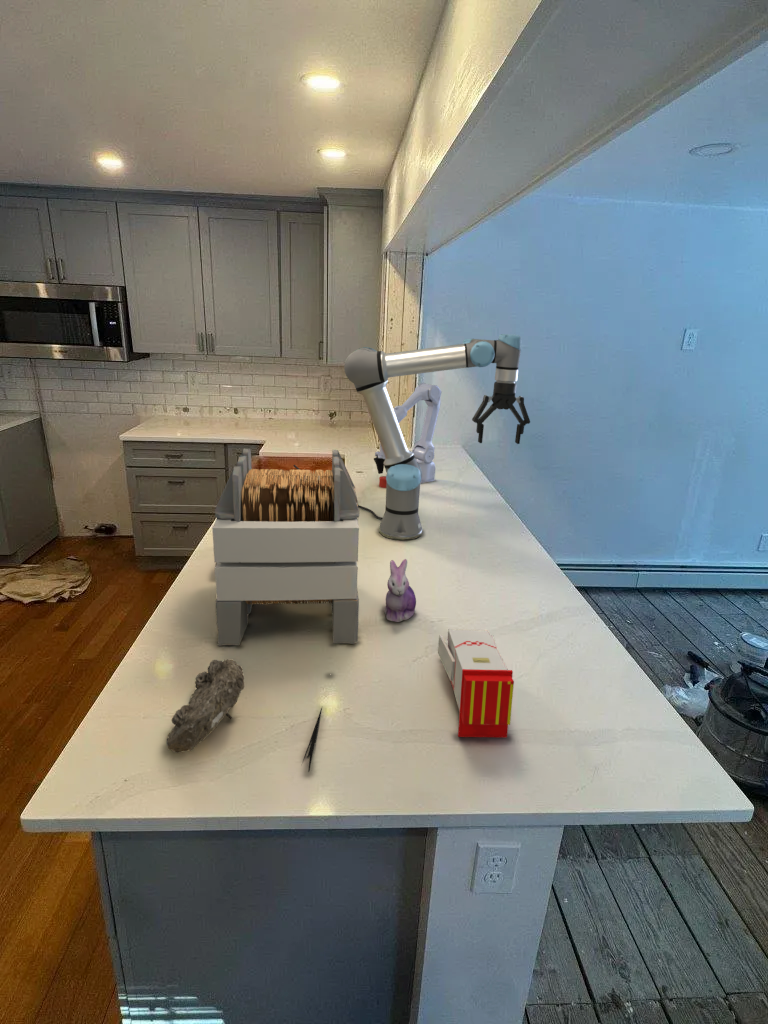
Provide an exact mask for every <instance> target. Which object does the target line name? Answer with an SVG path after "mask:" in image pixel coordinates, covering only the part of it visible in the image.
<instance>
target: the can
mask: <svg viewBox="0 0 768 1024" xmlns="http://www.w3.org/2000/svg"><path fill="white" fill-rule="evenodd" d="M378 479H379V480H378V487H379V488H382V489H386V483H387V481H386V475H381V476H379V478H378Z"/></svg>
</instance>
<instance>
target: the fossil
mask: <svg viewBox="0 0 768 1024" xmlns="http://www.w3.org/2000/svg"><path fill="white" fill-rule="evenodd" d="M243 670H244V669H243V667H242V665H240V664H237V662H236V661H235V660H234V659H232V658H231V659H227V658H226V659H224V660H223V661H222V660H217V659H212V660H211V661H210V663H209V665H208V666H207V671H201V672H199V673H198V674H197V675H196V676H195V680H194V684H195V685H194V687H195V689H194V690H193V693H192V694H191V697H190V698H189V700H188V704H184V705H182V706H181V707H180V709H177V710H176V711H175V713H174V715H173V716H172V718H171V723H172V724H173V727H172V730H171V731H170V732H168V734H167V738H166V741H167V742H166V745H167V749H168V750H169V751H173V752H174V753H176V754H178V753H182V752H188V751H189V752H192V751H193V750H195V748H196V747H197V746H199V744H200V743H201V742H203V741H204V740H205V739H206V738H207V737H208V736H209V735H210V734H211V733H212V732H214V730H215V729H217V727H218V726H219V724H220V722H221V721H222V720H223V719H224V718H225V716H226V717H227V719H229V720H233V717H232V715H230V714H229V710H230V709H231V708H234V706H235V704H236V703H237V702H238V699H239V697H240V695H241V693H242V691H243V690H245V689H244V688H245V675H244V671H243Z"/></svg>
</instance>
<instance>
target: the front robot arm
mask: <svg viewBox="0 0 768 1024" xmlns="http://www.w3.org/2000/svg"><path fill="white" fill-rule="evenodd" d="M521 351H522V336H520V335H519V334H508V333H507V334H505V333H504V334H503V333H502V334H500V335H499V336H498V339H494V340H493V339H479V338H465V339H464V340H463V341H462V343H458V344H450V345H442V346H435V347H427V348H419V349H412V350H411V349H410V350H403V351H395V352H387V353H386V352H385V351H384V350H378V351H377V350H376V349H375V348H372V347H367V346H363V347H359V348H358V349H355V350H354V351H352V352H351V353H349V354H348V356H347V357H346V359H345V360H344V361H345V362H344V365H343V367H344V369H343V371H344V374H345V376H346V378H347V380H348V381H350V382H351V383H352V384H353V386H354V388H355V391H356V393H357V394H359V395H361V396H362V397H363V401H364V403H365V405H366V408H367V411H368V413H369V416H370V419H371V421H372V422H371V423H372V424H373V428H374V430H375V432H376V435H377V439H378V441H379V445H380V444H381V446H382V449H383V452H384V455H385V457H386V459H385V461H384V463H383V464H384V469H385V472H386V475H385V476H386V481H387V483H386V488H385V504H384V505H385V507H384V508H385V509H384V513H383V515H382V516H378V515H377V514H376V513H375V511H373V510H372V509H370V508H368V507H365V506H362V505H360V504H358V507H359V509H362V510H364V511H367V512H369V513H370V514H372V516H374V518H375V519H378V520H381V522H379V525H378V533H379V534H380V535H381V536H382V537H385V538H387V539H389V540H395V541H410V540H415V539H418V538H420V537H421V536H422V535H423V525H422V521H421V518H420V515H419V507H420V506H419V505H420V491H421V483H420V482H421V478H422V475H421V474H422V472H421V468H420V466H419V464H418V463H417V462H416V459H415V456H414V453H413V452H412V450H409V449H408V446H407V444H406V441H405V438H404V435H403V432H402V429H401V426H400V424H399V423H400V422H399V423H398V421H397V418H396V415H395V412H394V407H393V404H392V401H391V398H390V396H389V395H390V394H389V392H388V390H387V384H388V382H389V380H388V379H389V378H396V377H405V376H412V375H419V374H427V373H434V372H435V373H436V372H443V371H451V370H457V369H458V370H459V369H467V368H468V369H469V368H485V367H488V366H489V365H490V364H495V374H494V380H495V381H494V383H493V392H492V393H493V394H492V395H487V394H484V395H483V397H482V401H481V403H480V405H479V407H478V408H477V410H476V412H475V413H474V415H473V417H472V419H471V420H472V422H474V423H475V424H476V429H475V430H476V431H475V432H476V433H477V434H478V436H477V437H478V438H477V442H478V443H479V444H483V438H484V430H485V429H484V427H485V424H483V423H484V422H485V421H486V420H488V418H489V417H490V416H491V415H492V414H493V412H495V411H496V410H507V411H508V410H510V412H511V413H512V414H513V416H514V417H515V419H516V420H517V421H518V423H517V424H516V431H515V438H514V443H515V444H517V445H520V444H521V443H520V442H521V435H523V434H524V430H525V426H526V425H529V424H530V423H531V419H530V417H529V414H528V411H527V408H526V405H525V397H524V396H522V395H519V396H516V393H517V392H516V391H517V383H516V382H517V381H518V377H519V376H518V375H519V365H520V358H521ZM490 402H492V403H491V405H489V407H488V408H487V409H486V407H487V405H488V404H489V403H490ZM515 402H516V403H517V404H518V407H519V410H520V412H521V414H520V413H519V412H518V411H517V409H516V407H515V406H514V404H515ZM485 409H486V411H485ZM483 412H484V413H483ZM521 415H522V416H521ZM293 467H294V468H295V470H301V469H300V468H299V467H298V466H297V465H296V464H293Z"/></svg>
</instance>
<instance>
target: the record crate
mask: <svg viewBox="0 0 768 1024" xmlns="http://www.w3.org/2000/svg"><path fill="white" fill-rule="evenodd" d="M331 454H332V455H331V458H332V459H331V469H325V470H324V469H315V470H311V469H300V470H297V469H289V470H283V469H281V468H280V469H278V468H277V469H273V468H271V469H269V468H266V469H265V468H260V469H259V468H258V469H257V468H252V466H253V465H252V452H251V448H243V449H242V451H241V453H240V455H239V457H238V460H237V462H236V464H235V465H234V466H233V468H232V470H231V473H230V475H229V477H228V479H227V482H226V484H225V486H224V488H223V491H222V492H221V495H220V497H219V499H218V501H217V504H216V506H215V509H214V517H215V518H216V520H214V523H213V525H212V543H213V544H212V545H213V561H214V563H215V564H216V562H217V564H216V567H215V566H214V574H215V591H216V599H215V604H214V605H215V619H216V620H215V621H216V629H217V641H218V642H217V646H219V647H220V646H221V647H225V646H240V644H241V643H242V640H243V637H244V634H245V632H246V629H247V627H248V624H249V615H251V611H252V606H253V605H272V604H273V605H278V604H279V605H281V604H282V605H290V604H292V605H297V604H299V605H300V604H309V605H310V604H315V605H316V604H331V623H332V624H331V626H332V644H351V645H355V644H356V643H357V642H359V607H360V605H359V603H360V598H359V591H358V575H359V574H358V571H359V566H358V562H359V538H360V537H359V535H360V526H359V521H358V518H359V517H360V508H359V507H358V505H359V503H358V497H357V493H356V486H355V484H354V482H353V480H352V477H351V475H350V473H349V471H348V468H347V466H346V464H345V462H344V460H343V458H342V455H341V454H340V451H339V450H338V449H332V453H331Z"/></svg>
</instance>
